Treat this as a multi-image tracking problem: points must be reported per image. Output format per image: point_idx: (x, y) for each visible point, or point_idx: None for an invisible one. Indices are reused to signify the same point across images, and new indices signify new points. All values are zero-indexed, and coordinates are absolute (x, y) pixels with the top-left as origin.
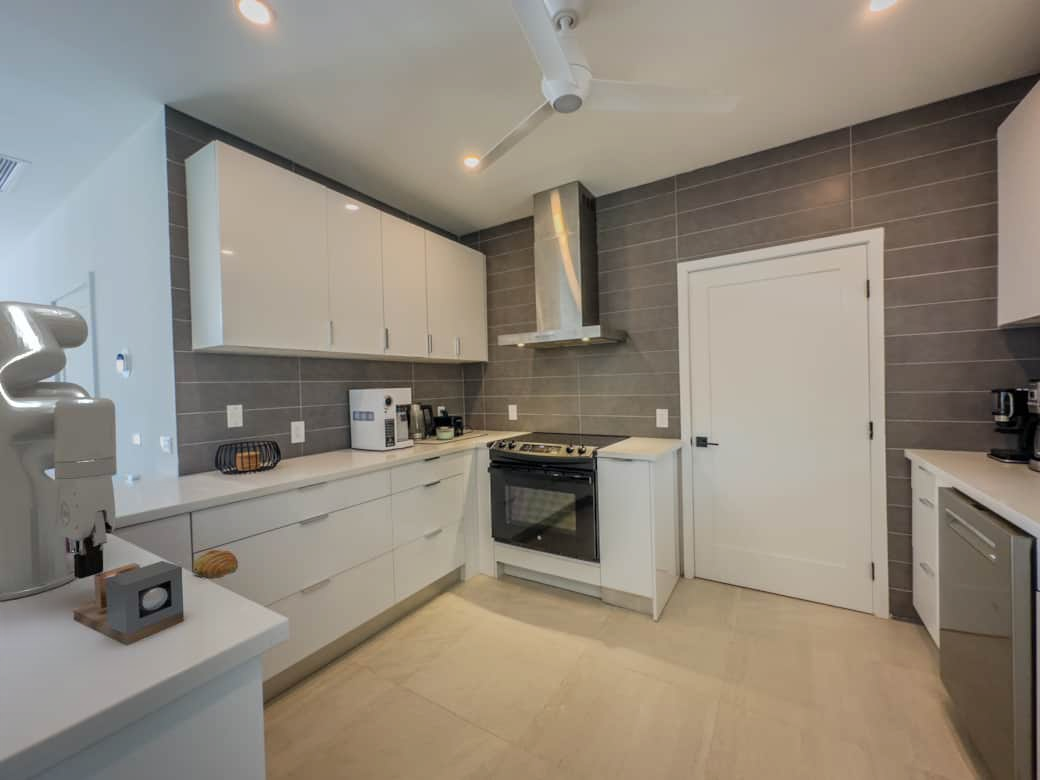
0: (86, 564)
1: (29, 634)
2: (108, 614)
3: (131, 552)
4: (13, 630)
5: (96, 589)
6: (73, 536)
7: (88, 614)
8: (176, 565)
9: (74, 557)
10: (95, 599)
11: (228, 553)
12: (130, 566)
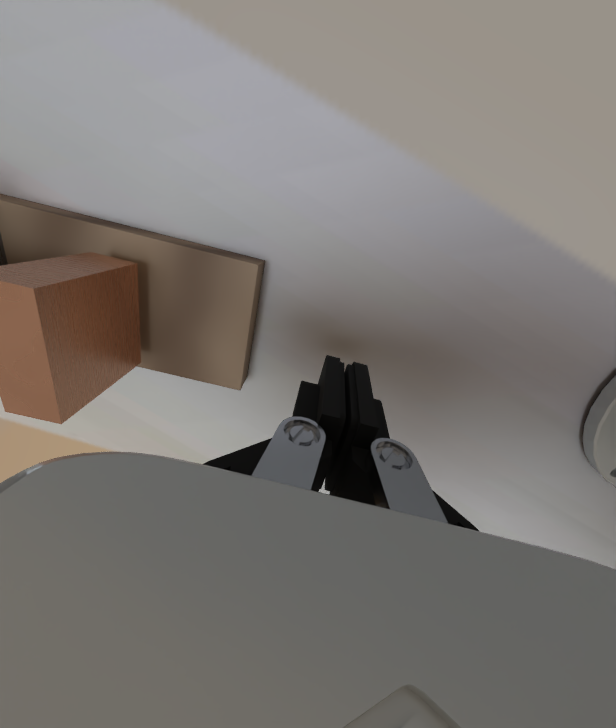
0: (297, 398)
1: (291, 150)
2: None
3: None
4: (390, 159)
5: (71, 271)
6: (136, 488)
7: (160, 248)
8: None
9: (370, 415)
10: (116, 266)
11: None
12: (18, 394)
